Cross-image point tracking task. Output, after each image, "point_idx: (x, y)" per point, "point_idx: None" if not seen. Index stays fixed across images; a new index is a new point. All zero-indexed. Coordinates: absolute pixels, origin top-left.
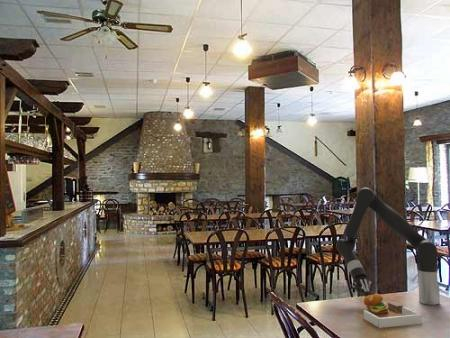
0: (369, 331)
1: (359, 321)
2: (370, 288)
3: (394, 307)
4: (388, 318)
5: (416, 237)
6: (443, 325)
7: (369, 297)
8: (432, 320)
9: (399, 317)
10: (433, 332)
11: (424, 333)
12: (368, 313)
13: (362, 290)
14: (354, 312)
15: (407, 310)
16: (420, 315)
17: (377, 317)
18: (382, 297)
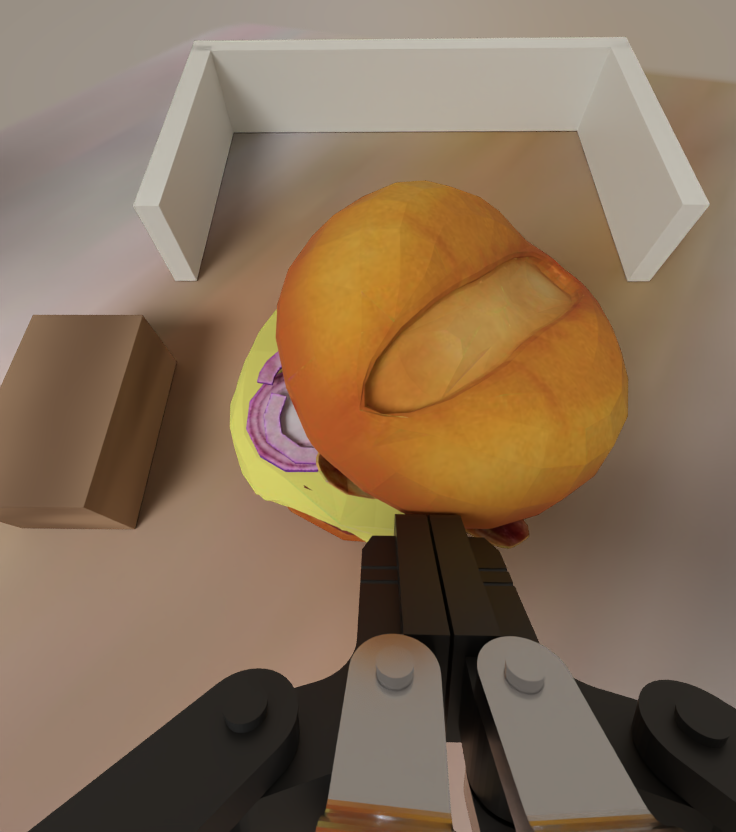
0: (689, 95)
1: (715, 238)
2: (245, 745)
3: (147, 366)
4: (531, 42)
5: None
6: (112, 84)
7: (554, 321)
8: (80, 149)
9: (421, 44)
10: (282, 35)
11: (346, 35)
12: (672, 143)
13: (664, 689)
14: (701, 477)
15: (185, 156)
16: (210, 46)
17: (627, 56)
18: (316, 232)
